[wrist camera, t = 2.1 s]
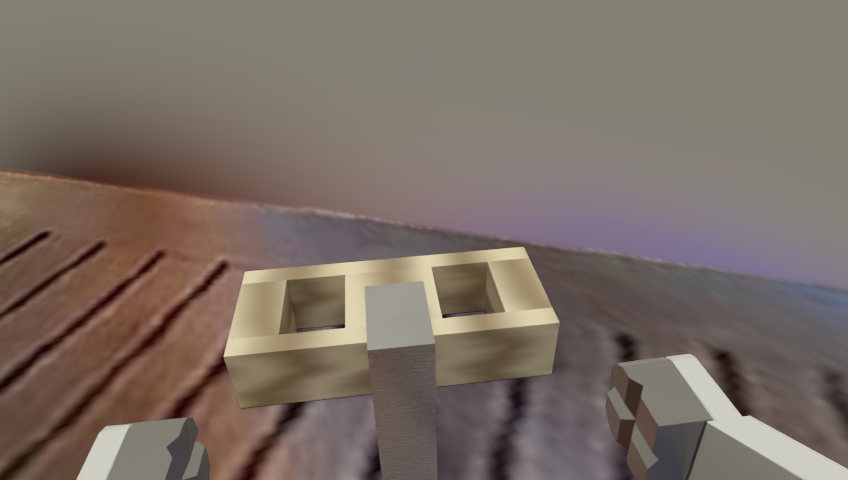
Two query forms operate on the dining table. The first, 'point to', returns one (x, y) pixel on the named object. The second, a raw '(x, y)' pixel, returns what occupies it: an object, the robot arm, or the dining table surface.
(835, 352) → the dining table surface
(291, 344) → the hollow cinder block
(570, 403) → the dining table surface
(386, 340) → the grey square pillar
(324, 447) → the dining table surface
